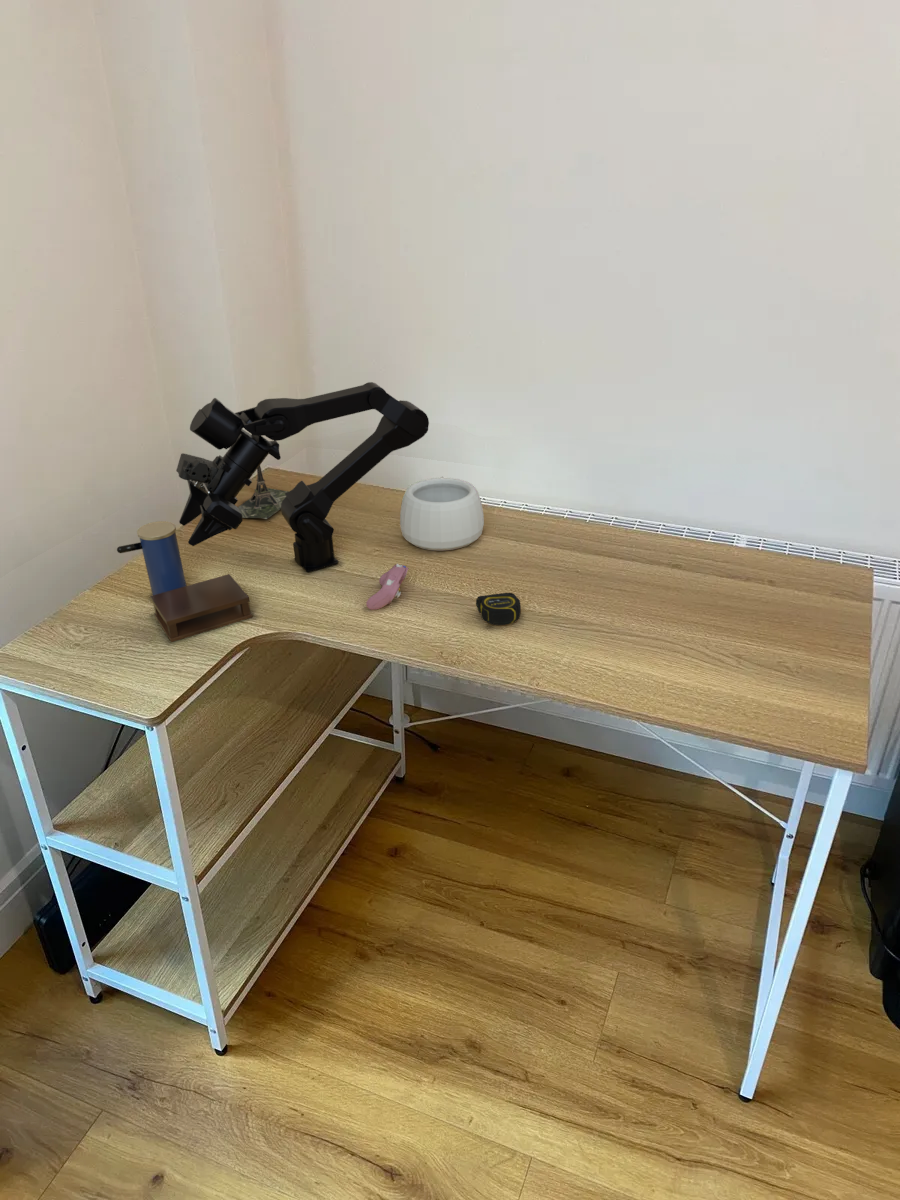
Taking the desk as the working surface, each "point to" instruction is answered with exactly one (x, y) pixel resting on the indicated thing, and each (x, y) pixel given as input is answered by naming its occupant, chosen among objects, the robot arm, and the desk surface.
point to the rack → (201, 607)
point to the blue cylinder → (159, 556)
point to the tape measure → (499, 608)
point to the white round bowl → (441, 514)
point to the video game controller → (388, 587)
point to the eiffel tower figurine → (262, 500)
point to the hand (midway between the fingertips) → (185, 534)
